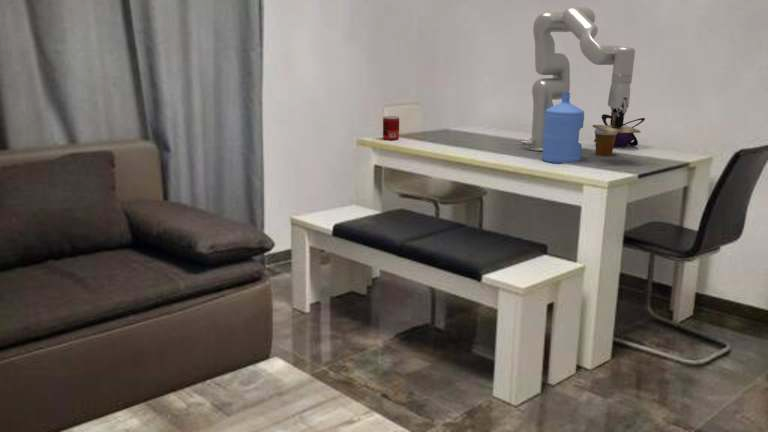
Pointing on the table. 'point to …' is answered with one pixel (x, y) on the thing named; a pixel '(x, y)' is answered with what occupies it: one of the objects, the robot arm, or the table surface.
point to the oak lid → (616, 129)
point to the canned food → (390, 128)
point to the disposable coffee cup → (604, 142)
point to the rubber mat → (615, 162)
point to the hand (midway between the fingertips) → (616, 125)
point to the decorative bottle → (623, 134)
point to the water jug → (562, 132)
